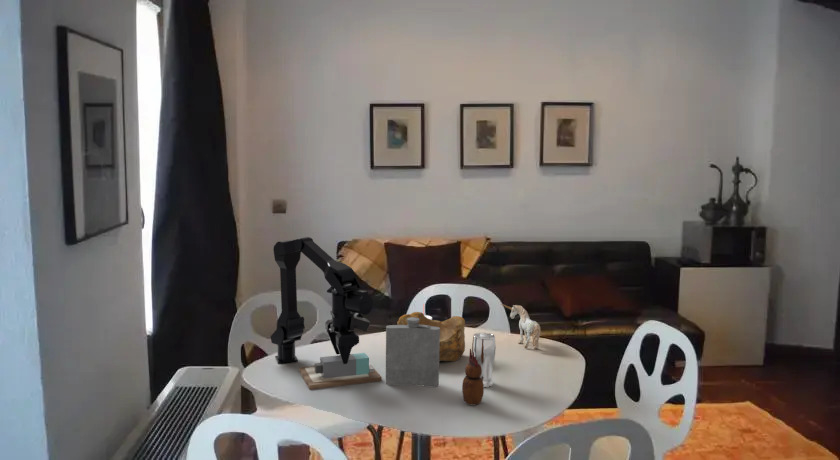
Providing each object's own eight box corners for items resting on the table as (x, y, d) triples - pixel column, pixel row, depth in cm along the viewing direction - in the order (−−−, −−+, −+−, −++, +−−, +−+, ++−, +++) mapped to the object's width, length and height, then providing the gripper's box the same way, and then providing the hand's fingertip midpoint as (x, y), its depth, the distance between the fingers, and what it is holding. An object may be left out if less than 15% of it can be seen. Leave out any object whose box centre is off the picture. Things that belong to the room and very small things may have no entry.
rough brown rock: (393, 370, 212) (395, 326, 209) (396, 349, 228) (398, 308, 225) (465, 374, 212) (468, 330, 208) (463, 353, 228) (466, 312, 224)
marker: (313, 373, 201) (313, 357, 200) (364, 368, 207) (364, 352, 206) (317, 379, 197) (316, 363, 196) (369, 373, 202) (369, 357, 201)
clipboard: (299, 371, 207) (299, 364, 207) (366, 363, 215) (367, 357, 215) (309, 389, 192) (309, 382, 192) (381, 380, 200) (381, 373, 200)
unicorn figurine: (514, 336, 248) (515, 301, 246) (551, 350, 232) (553, 313, 230) (499, 339, 244) (500, 303, 242) (536, 353, 228) (537, 316, 226)
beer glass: (493, 389, 195) (494, 339, 193) (469, 387, 196) (471, 338, 194) (495, 380, 201) (496, 333, 199) (472, 378, 203) (473, 331, 201)
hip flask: (384, 385, 197) (385, 319, 194) (386, 380, 201) (387, 316, 198) (438, 387, 196) (439, 321, 193) (438, 382, 200) (440, 317, 197)
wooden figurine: (460, 398, 188) (461, 347, 186) (480, 397, 188) (482, 346, 186) (464, 407, 181) (465, 354, 179) (484, 407, 181) (486, 354, 179)
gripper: (376, 314, 193) (376, 366, 195) (359, 299, 210) (359, 347, 212) (338, 317, 189) (339, 370, 191) (324, 302, 206) (324, 350, 208)
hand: (341, 358), depth 201 cm, fingers open, 9 cm apart
